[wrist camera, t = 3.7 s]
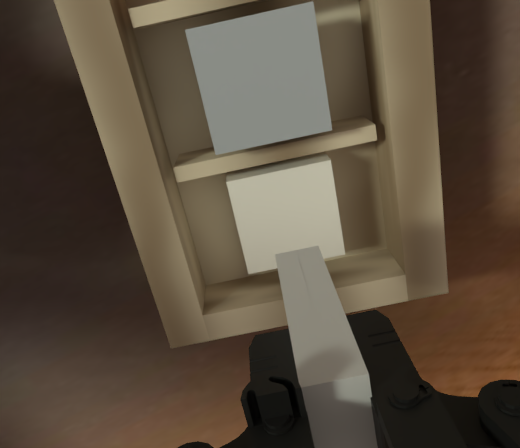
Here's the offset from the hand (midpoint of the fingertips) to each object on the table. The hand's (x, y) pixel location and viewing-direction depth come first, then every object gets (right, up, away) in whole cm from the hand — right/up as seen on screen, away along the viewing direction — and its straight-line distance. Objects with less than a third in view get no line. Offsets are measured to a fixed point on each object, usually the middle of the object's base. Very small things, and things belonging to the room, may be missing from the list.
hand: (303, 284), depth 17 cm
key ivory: (0, +3, +8) cm, 8 cm away
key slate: (-2, +8, +4) cm, 9 cm away
